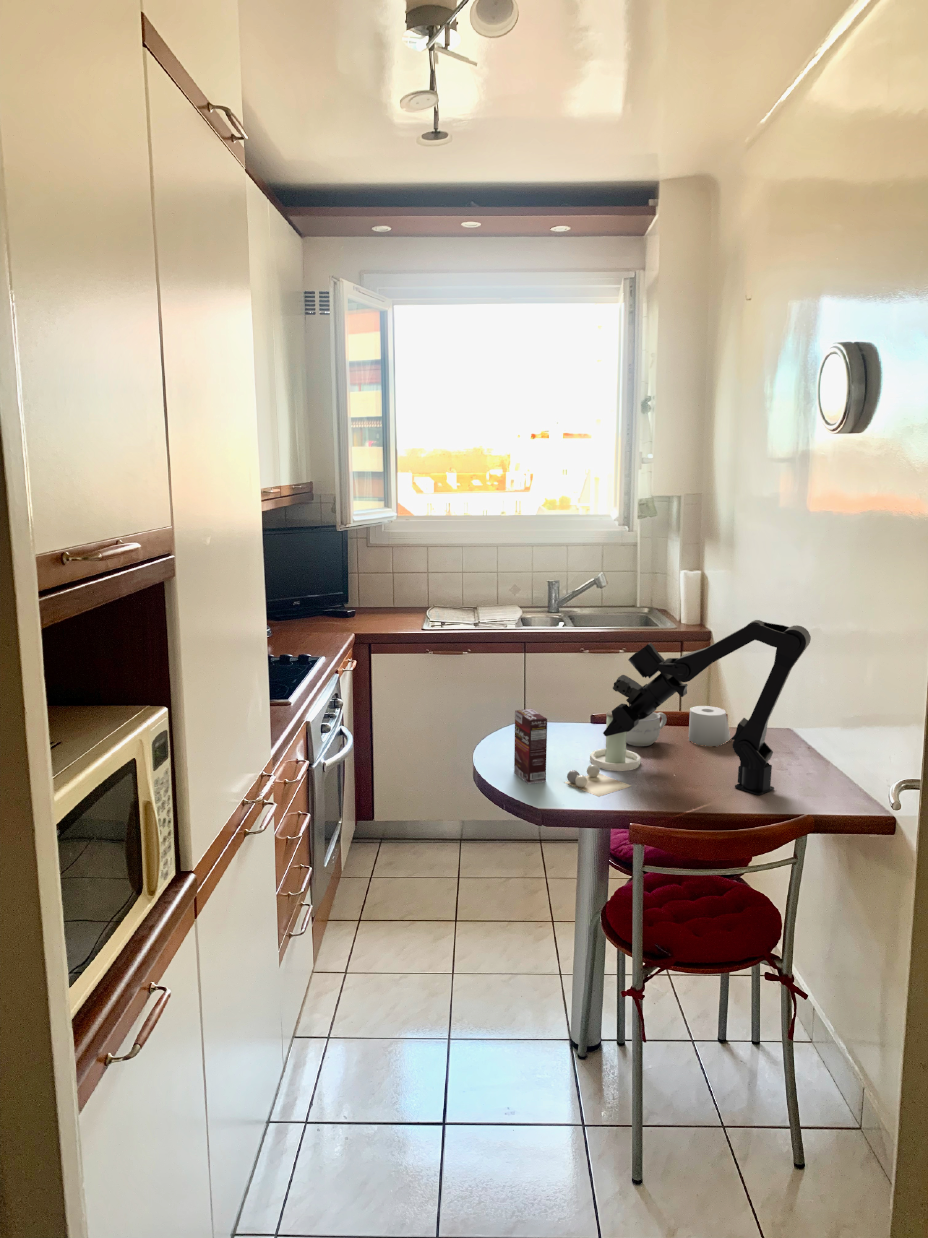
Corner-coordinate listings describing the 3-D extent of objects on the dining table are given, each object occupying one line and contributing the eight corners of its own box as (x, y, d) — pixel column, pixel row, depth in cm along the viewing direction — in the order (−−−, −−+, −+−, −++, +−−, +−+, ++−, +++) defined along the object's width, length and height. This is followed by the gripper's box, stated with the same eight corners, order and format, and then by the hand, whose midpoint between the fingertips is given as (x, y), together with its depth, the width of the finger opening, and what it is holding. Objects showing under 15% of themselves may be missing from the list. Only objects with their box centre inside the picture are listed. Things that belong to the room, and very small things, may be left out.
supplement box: (512, 773, 211) (514, 709, 208) (531, 771, 213) (532, 708, 210) (527, 786, 203) (529, 719, 200) (546, 783, 205) (548, 717, 202)
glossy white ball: (601, 777, 208) (602, 765, 207) (593, 780, 206) (593, 768, 205) (592, 774, 210) (593, 762, 210) (583, 776, 208) (584, 764, 208)
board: (631, 787, 202) (632, 786, 202) (598, 798, 196) (598, 796, 196) (597, 774, 211) (597, 772, 211) (564, 784, 204) (564, 782, 204)
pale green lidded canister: (629, 764, 216) (631, 715, 214) (607, 765, 215) (609, 716, 213) (622, 757, 221) (624, 709, 219) (601, 758, 221) (603, 710, 218)
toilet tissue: (737, 738, 240) (739, 708, 238) (711, 749, 231) (713, 717, 229) (708, 731, 246) (709, 701, 244) (681, 741, 237) (683, 710, 236)
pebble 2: (589, 787, 201) (590, 775, 201) (581, 790, 199) (581, 778, 199) (580, 784, 203) (581, 772, 203) (572, 786, 202) (572, 775, 201)
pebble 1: (582, 783, 204) (582, 771, 203) (573, 786, 202) (573, 773, 201) (573, 779, 206) (573, 767, 206) (564, 782, 204) (564, 770, 204)
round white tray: (649, 765, 217) (650, 757, 217) (616, 775, 210) (616, 767, 210) (613, 752, 227) (613, 745, 226) (580, 762, 219) (580, 754, 219)
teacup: (629, 751, 228) (630, 721, 227) (611, 738, 239) (612, 710, 237) (677, 747, 232) (678, 717, 231) (657, 734, 242) (659, 706, 241)
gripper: (646, 659, 220) (602, 696, 227) (621, 674, 204) (575, 713, 211) (675, 693, 218) (631, 730, 225) (653, 711, 202) (605, 750, 209)
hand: (610, 729), depth 218 cm, fingers open, 9 cm apart
